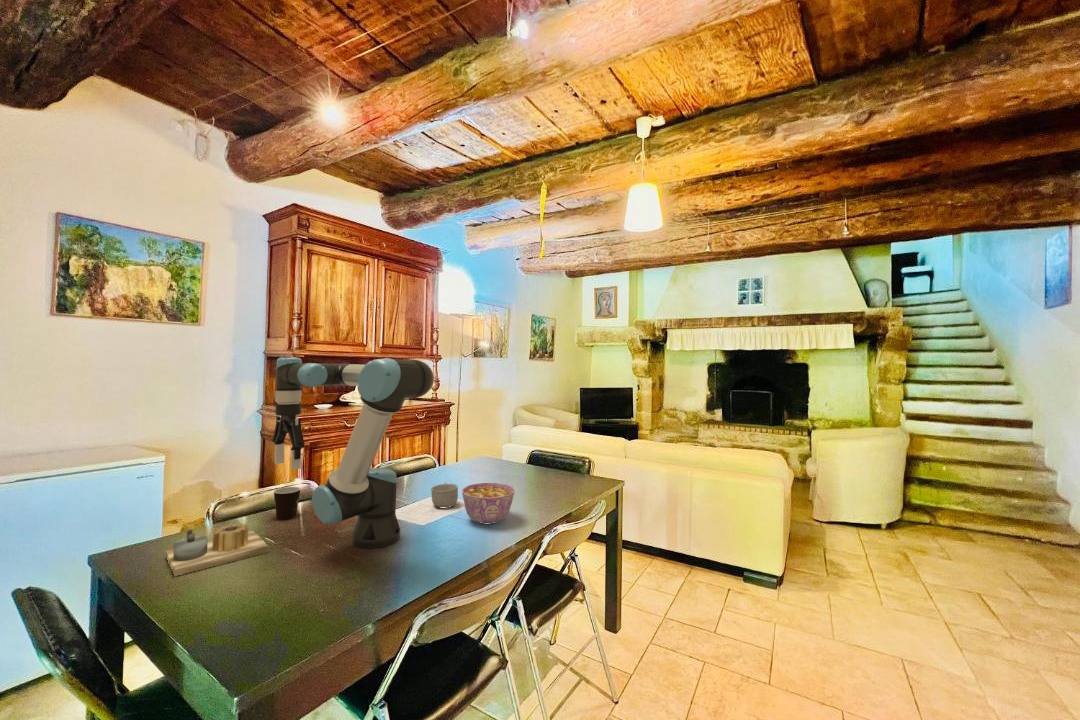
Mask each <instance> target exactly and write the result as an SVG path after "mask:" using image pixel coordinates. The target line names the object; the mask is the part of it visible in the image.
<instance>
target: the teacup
mask: <svg viewBox="0 0 1080 720" xmlns="http://www.w3.org/2000/svg"><path fill="white" fill-rule="evenodd" d="M458 488H459V486H458V485H457V484H456V483H448V482H443V483H440V484H435V485H434V486H432V487H431V488H430V489H431V490H430V491H431V501H432V504H433V505H434V506H435V507H436V508H438V507H449V506H452V505H453V506H454V505H455V504H456V503H457V502H458V498H459V491H458V490H459V489H458ZM453 506H452V507H453ZM449 508H450V507H449Z"/></svg>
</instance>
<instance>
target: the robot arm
mask: <svg viewBox="0 0 1080 720" xmlns="http://www.w3.org/2000/svg"><path fill="white" fill-rule="evenodd" d="M434 381H435V377H434V372H433V371H432V368H431V367H430V366H429V365H428V364H427V363H425V362H424V361H422V360H419V359H403V358H402V359H397V358H388V357H385V358H377V359H373V360H370V361H367V363H366V364H359V363H358V364H357V363H356V364H353V363H352V364H351V363H315V362H313V363H312V362H308V363H307V362H306V363H303V360H302V359H301V358H300V357H278V358H277V360H276V367H275V398H274V399H275V402H276V403H277V404H275V412H274V413H275V416H276V417H275V418H276V420H275V421H276V422H275V425H274V431H273V434H272V440H271V442H273V444H274V464H275V465H278V464H285V444H286V441H285V439H286V436H287V435H288V437H289V440H290V444H291V448H290V451H291V452H290V457H291V458H290V471H294V470H301V468H302V449H304V448H305V442H304V435H303V429H302V422H301V421H302V420H301V418H297V416H298V415H299V416H300V414H302V404H301V401H302V396H303V392H302V387H307V388H315V387H324V386H325V387H327V386H346V387H347V386H348V387H350V386H351V387H357V390H358V393H359V395H360V400H361V401H360V402H361V403H362V404H363V405H362V406H361V410H360V411H359V415H358V416H357V419H356V423H355V424H354V428H353V429H352V432H351V434H350V437H349V440H348V442H347V445H346V447H345V450H344V451H343V455H342V457H341V460H340V462H339V465H338V466H337V467H338V468H336V469H334V470H332V471H331V472H330V473H329V475H328V478H327V480H326V483H324V484H321V485H319V486H317V487H315V488H314V490H313V491H312V492H313V493H312V497H311V503H312V507H313V512H314V514H315V516H316V517H317V518H318V520H319V522H322V523H323V524H326V525H332V524H333V525H334V524H336V523H341V522H343V521H347V520H348V519H352V518H354V517H357V520H356V522H355V525H354V528H353V530H352V534H351V543H352V545H353V546H354V547H356V548H360V549H361V548H362V549H378V548H384V547H388V546H391V545H393V544H395V543H396V542H398V541H399V540H400V539H401V527H400V525H399V521H398V519H397V518H398V517H397V514H396V513H397V512H396V509H397V508H396V507H397V487H398V486H397V485H398V482H397V475H396V474H397V472H396V471H395V472H394V471H393V469H389V468H380V467H372V465H373V463H374V460H375V458H376V457H377V453H378V451H379V448H380V446H381V444H382V441H383V438H384V436H385V434H386V431H387V429H388V427H389V424H390V422H391V420H392V417H393V414H394V415H395V414H397V413H399V412H400V411H401V410H402V407H403V406H404V403H405V400H407V399H408V400H409V399H418V398H420V397H423V396H425V395H426V394H427V393H429V392H430V390H431V389H432V387H433V384H434Z"/></svg>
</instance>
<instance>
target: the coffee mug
mask: <svg viewBox="0 0 1080 720" xmlns="http://www.w3.org/2000/svg"><path fill="white" fill-rule="evenodd" d="M300 495H301V487H298V486H287V487H286V486H285V487H280V488H277V489H275V490H273V498H274V508H275V519H276V518H277V519H276V520H278V521H287V520H288V521H289V520H291V519H294V518H296V517H297V514H298V507H299V499H300Z"/></svg>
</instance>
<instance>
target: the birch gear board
mask: <svg viewBox="0 0 1080 720" xmlns="http://www.w3.org/2000/svg"><path fill="white" fill-rule="evenodd" d="M232 530H234V527H233V526H230V527H228V531H232ZM195 534H196V533H193V529H187V531H186V537H184V538H181V539H178V540H176V541H175V542H174V543H173V549H169V550H166V551H165V559H166V558H167V560H168V562H167V564H168V563H169V564H168V566H169V565H170V566H169V568H170V567H171V568H170V570H171V569H172V570H171V572H172V571H173V573H172V574H174V575H173V577H174V576H177V575H181V574H184V573H188V574H190V573H189V572H192V573H194V572H193V571H196V572H199V571H198V570H200V571H203V570H206V569H205V568H207V569H210V568H209V567H211V568H214V567H213V566H215V567H218V566H222V565H226V564H228V562H230V563H233V562H232V561H234V562H237V561H241V560H245V559H248V557H249V558H252V557H256V556H259V555H260V556H261V555H263V554H267V553H269V544H267V543H266V542H265V541H264V540H263V539H262V537H260V536H259V535H258V533H256V532H255V531H254V530H252V531H248V543H247V545H245V546H241V548H239V549H232V551H227V550H224V551H223V552H218V551H219V550H217V551H214V550H213V549H212V541H213V539H212V540H208V539H209V538H208V536H206V535H195ZM244 558H245V559H244ZM167 560H166V561H167ZM236 560H237V561H236ZM225 563H226V564H225ZM221 564H222V565H221ZM202 569H203V570H202ZM184 575H185V574H184ZM181 576H182V575H181ZM177 577H178V576H177Z"/></svg>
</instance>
